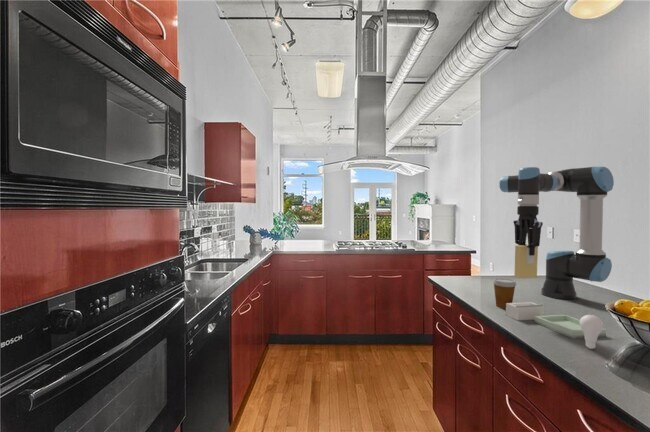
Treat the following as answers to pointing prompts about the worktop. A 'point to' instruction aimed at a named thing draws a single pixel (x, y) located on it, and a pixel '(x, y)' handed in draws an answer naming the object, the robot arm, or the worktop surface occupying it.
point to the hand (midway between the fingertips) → (526, 262)
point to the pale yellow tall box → (520, 263)
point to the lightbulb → (591, 329)
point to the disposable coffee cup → (504, 291)
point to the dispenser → (524, 310)
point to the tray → (564, 325)
